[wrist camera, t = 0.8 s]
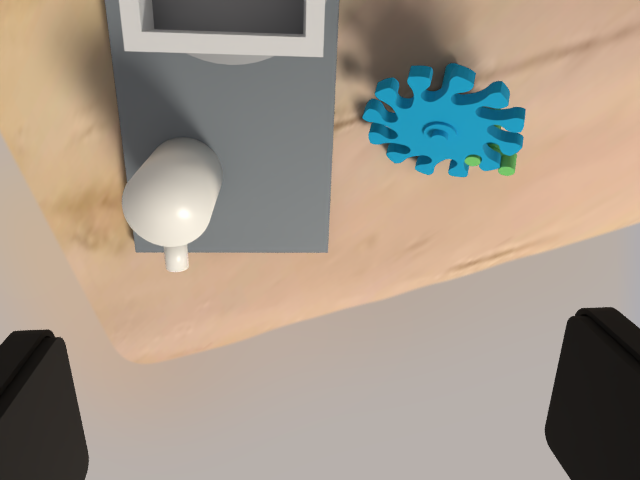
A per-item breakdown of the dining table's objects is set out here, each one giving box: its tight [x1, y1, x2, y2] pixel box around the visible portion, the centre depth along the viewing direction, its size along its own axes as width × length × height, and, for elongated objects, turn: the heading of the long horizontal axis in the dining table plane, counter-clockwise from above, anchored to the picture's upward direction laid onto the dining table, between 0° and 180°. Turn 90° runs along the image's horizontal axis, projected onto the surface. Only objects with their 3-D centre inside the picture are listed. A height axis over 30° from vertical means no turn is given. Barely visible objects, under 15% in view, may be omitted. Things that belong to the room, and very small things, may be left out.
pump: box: [122, 137, 223, 272], centre depth 33 cm, size 7×5×6 cm
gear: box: [362, 63, 525, 177], centre depth 34 cm, size 11×6×10 cm
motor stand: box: [105, 0, 339, 253], centre depth 29 cm, size 24×14×12 cm, turn 178°
